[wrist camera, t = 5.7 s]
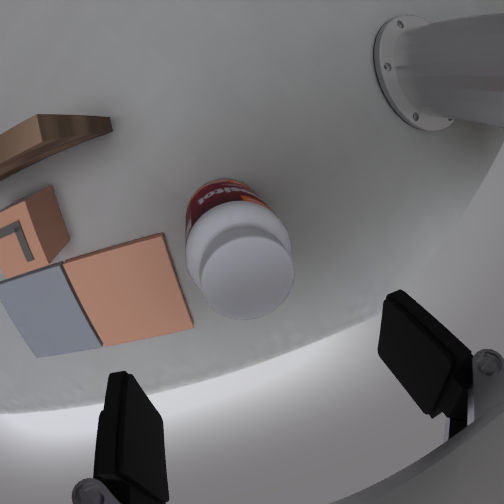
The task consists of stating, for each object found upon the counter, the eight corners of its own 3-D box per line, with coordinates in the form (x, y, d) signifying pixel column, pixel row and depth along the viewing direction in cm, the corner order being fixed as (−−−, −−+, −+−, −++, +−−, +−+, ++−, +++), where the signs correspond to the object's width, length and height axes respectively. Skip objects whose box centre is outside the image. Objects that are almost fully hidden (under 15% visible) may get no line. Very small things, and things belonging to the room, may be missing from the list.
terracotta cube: (52, 185, 20) (23, 201, 15) (70, 238, 22) (48, 265, 17) (11, 203, 19) (-19, 222, 15) (30, 253, 21) (5, 280, 17)
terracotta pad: (162, 232, 23) (162, 235, 23) (193, 322, 28) (193, 327, 27) (65, 260, 22) (62, 264, 22) (106, 341, 27) (105, 346, 26)
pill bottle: (264, 179, 23) (321, 222, 14) (256, 249, 26) (299, 327, 16) (186, 176, 22) (185, 219, 12) (184, 249, 25) (187, 334, 15)
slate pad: (62, 261, 22) (59, 265, 22) (103, 342, 27) (102, 347, 26) (-4, 282, 21) (-7, 286, 21) (38, 353, 26) (36, 357, 25)
